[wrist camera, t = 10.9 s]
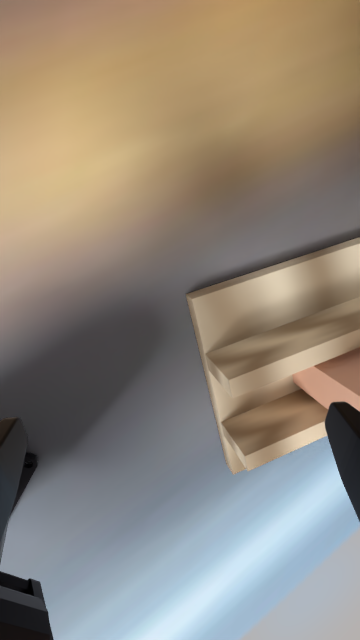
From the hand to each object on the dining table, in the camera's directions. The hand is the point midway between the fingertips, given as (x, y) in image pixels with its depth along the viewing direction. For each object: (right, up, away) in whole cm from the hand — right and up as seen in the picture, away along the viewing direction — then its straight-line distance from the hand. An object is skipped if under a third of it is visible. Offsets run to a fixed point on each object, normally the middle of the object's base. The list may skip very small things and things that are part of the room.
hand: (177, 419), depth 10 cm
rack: (+9, +1, +15) cm, 18 cm away
